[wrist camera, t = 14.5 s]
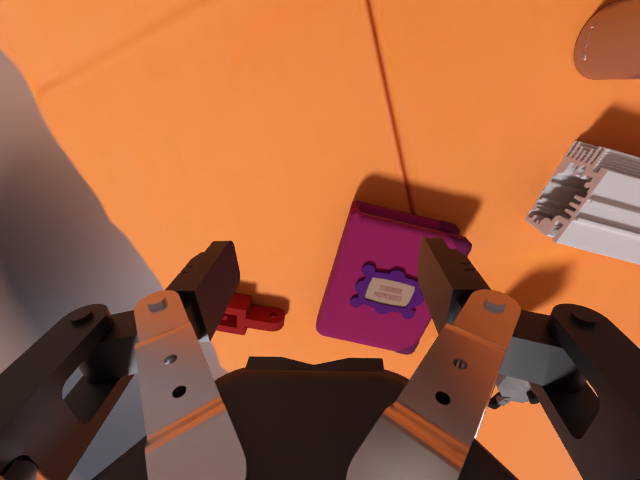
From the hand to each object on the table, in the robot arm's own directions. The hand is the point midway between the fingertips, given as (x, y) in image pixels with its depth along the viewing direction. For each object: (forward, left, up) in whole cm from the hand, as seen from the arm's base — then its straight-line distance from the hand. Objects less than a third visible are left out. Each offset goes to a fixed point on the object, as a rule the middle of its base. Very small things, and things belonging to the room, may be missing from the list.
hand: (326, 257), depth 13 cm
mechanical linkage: (+20, +38, -41) cm, 59 cm away
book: (-9, +28, -41) cm, 50 cm away
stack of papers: (-50, +14, -41) cm, 66 cm away
